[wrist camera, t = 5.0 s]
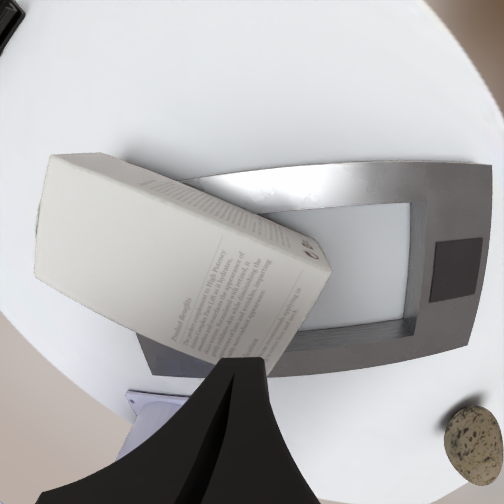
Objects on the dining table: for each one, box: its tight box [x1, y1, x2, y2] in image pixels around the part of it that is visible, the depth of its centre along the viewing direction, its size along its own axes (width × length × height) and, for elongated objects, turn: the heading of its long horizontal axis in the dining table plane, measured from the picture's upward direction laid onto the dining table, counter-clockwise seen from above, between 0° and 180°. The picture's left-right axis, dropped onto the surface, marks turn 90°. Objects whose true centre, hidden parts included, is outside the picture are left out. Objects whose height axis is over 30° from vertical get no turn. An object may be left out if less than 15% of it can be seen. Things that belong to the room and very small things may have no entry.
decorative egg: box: [444, 406, 503, 486], centre depth 15 cm, size 6×6×10 cm
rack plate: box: [136, 161, 492, 378], centre depth 15 cm, size 12×22×2 cm, turn 97°
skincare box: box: [34, 153, 332, 377], centre depth 12 cm, size 6×4×12 cm
